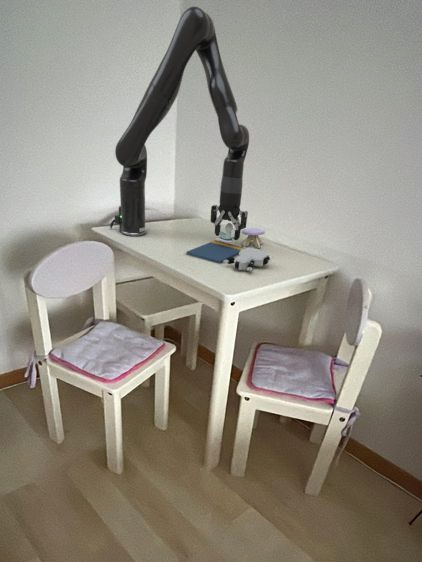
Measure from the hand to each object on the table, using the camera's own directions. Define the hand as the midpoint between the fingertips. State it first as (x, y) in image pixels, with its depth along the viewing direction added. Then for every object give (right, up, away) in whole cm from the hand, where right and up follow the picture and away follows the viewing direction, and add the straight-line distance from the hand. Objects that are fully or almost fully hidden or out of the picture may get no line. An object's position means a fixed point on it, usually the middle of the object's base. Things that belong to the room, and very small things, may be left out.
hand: (226, 237), depth 158 cm
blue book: (-3, -6, -2) cm, 7 cm away
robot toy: (+7, -14, -13) cm, 20 cm away
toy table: (+10, 0, +9) cm, 14 cm away
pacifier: (0, -1, +1) cm, 1 cm away
